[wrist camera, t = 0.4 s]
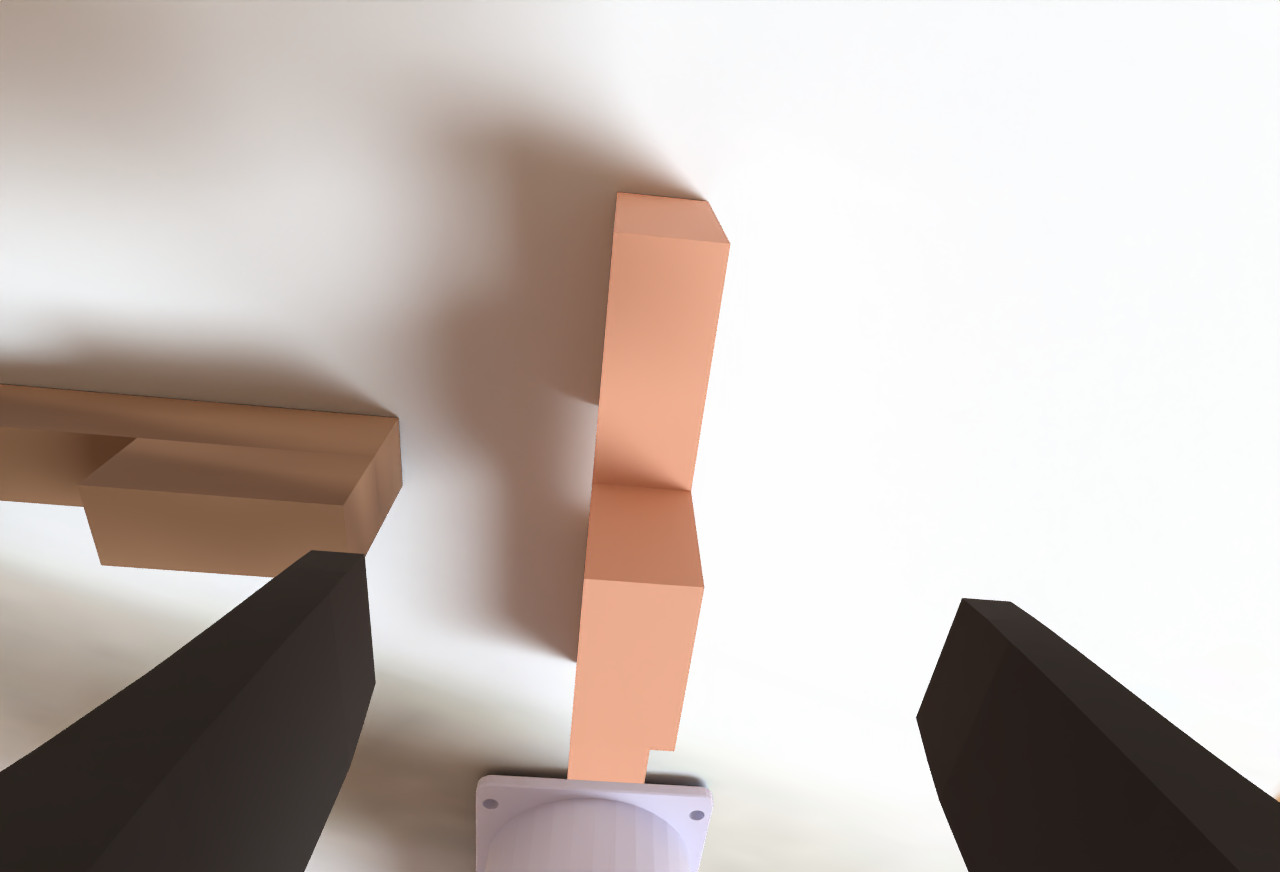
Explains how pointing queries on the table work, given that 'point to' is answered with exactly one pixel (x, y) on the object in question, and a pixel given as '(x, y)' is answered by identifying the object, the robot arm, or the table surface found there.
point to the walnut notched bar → (201, 477)
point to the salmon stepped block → (646, 486)
